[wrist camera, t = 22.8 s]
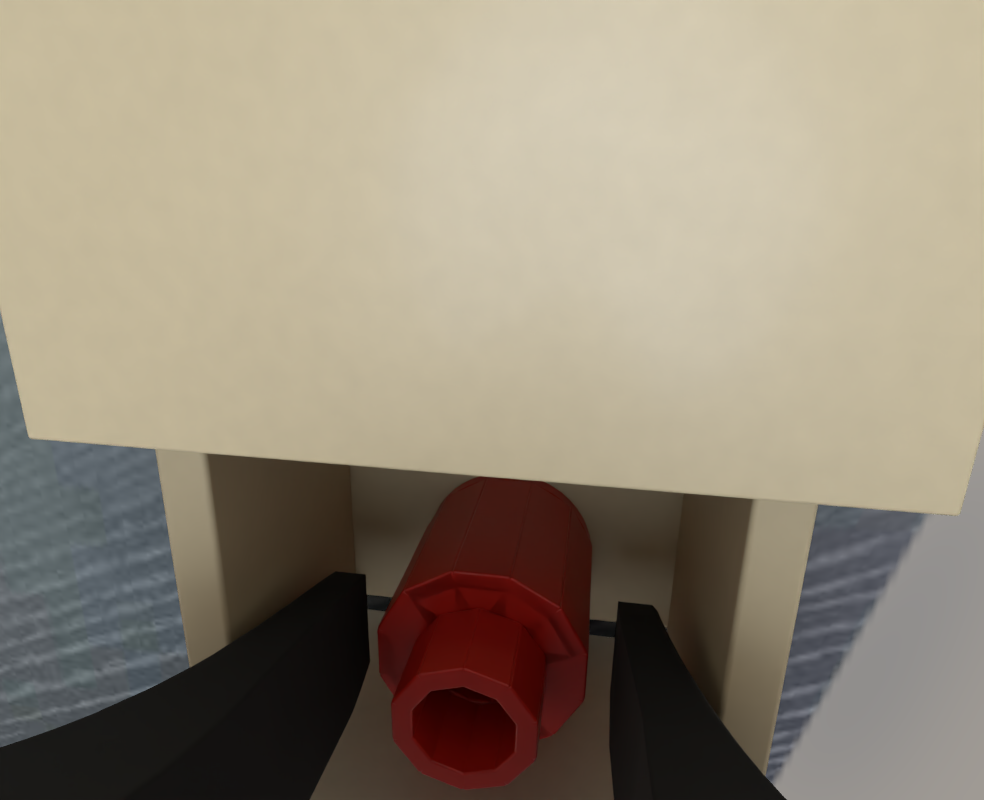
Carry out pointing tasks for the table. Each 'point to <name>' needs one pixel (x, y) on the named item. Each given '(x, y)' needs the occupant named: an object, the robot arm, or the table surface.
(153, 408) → the cabinet
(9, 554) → the table surface
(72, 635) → the table surface
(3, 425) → the table surface
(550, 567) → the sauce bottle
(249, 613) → the drawer
